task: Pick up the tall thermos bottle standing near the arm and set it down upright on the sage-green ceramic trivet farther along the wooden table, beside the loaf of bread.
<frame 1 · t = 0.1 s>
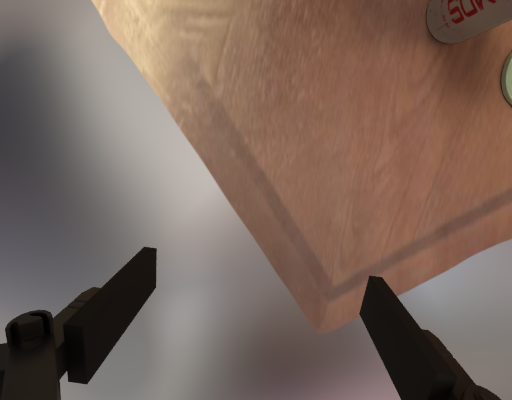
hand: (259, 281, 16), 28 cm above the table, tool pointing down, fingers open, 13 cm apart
thermos bottle: (455, 11, 36), on the table
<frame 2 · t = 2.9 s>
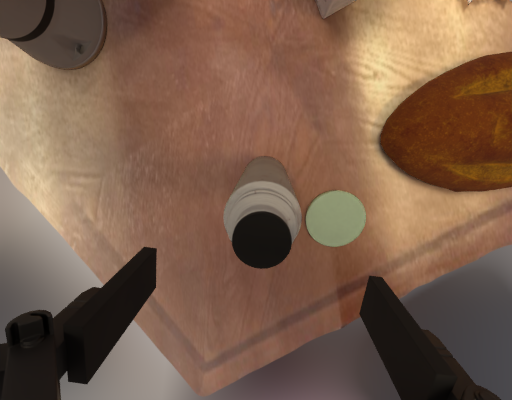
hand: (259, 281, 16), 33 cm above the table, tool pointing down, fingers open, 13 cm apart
trivet: (334, 218, 50), on the table
thermos bottle: (264, 177, 48), on the table
bread: (474, 127, 44), on the table
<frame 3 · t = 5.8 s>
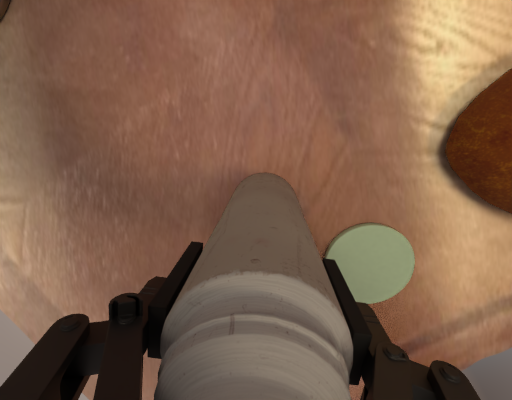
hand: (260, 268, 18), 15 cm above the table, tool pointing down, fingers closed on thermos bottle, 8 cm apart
trivet: (367, 263, 34), on the table
thermos bottle: (264, 204, 32), on the table, touching gripper
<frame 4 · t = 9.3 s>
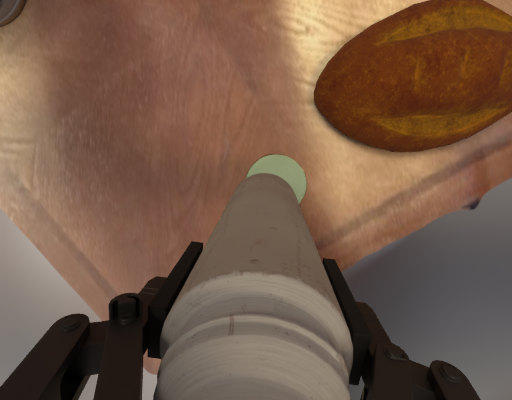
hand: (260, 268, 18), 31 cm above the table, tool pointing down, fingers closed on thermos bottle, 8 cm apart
trivet: (275, 184, 48), on the table
thermos bottle: (264, 204, 32), point 16 cm above the table, touching gripper
bread: (412, 85, 43), on the table
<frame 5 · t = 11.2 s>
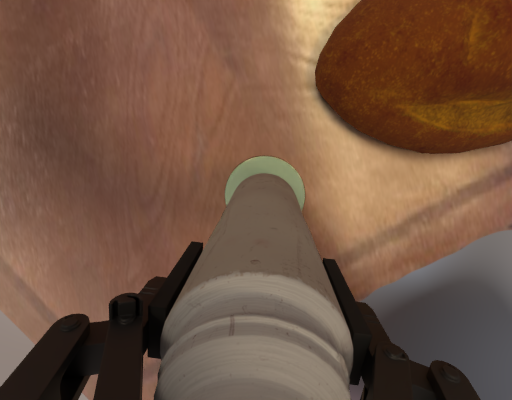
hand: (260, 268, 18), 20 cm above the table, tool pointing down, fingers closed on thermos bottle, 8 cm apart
trivet: (264, 195, 37), on the table
thermos bottle: (264, 204, 32), point 5 cm above the table, touching gripper
bread: (449, 63, 32), on the table
when the fingers open (16 cm above the table, at t = 12.8 s): thermos bottle stays where it is, resting on trivet.
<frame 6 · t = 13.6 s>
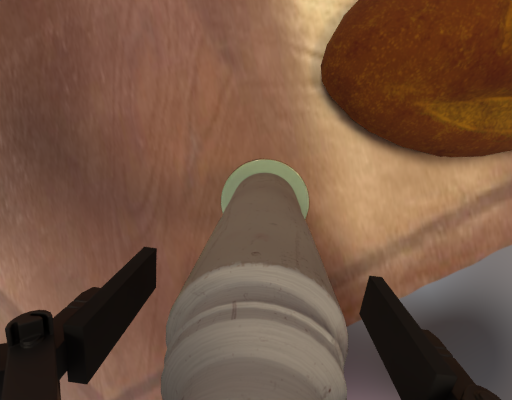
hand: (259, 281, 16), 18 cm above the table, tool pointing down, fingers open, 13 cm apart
trivet: (264, 201, 34), on the table
thermos bottle: (264, 203, 33), point 1 cm above the table, touching trivet
bread: (470, 56, 28), on the table
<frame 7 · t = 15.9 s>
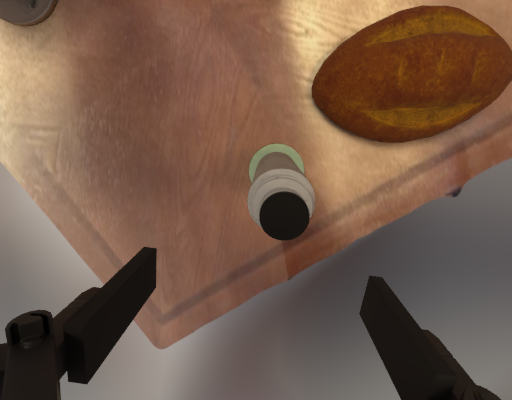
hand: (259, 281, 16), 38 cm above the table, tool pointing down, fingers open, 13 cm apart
trivet: (276, 171, 53), on the table
thermos bottle: (276, 171, 52), point 1 cm above the table, touching trivet
bread: (400, 82, 48), on the table
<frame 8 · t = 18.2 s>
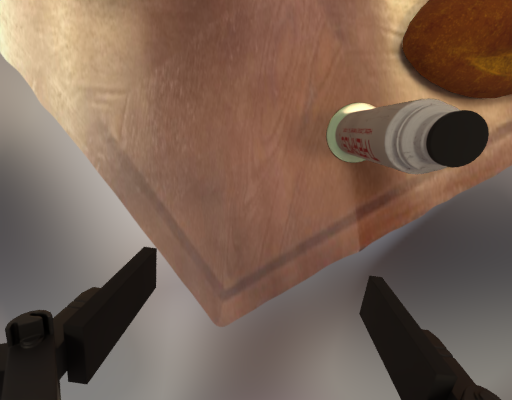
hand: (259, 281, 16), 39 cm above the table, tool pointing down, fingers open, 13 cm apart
trivet: (355, 133, 51), on the table
thermos bottle: (356, 133, 50), point 1 cm above the table, touching trivet
bread: (494, 34, 45), on the table
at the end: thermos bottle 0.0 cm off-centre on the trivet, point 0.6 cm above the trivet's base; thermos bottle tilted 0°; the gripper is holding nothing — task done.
